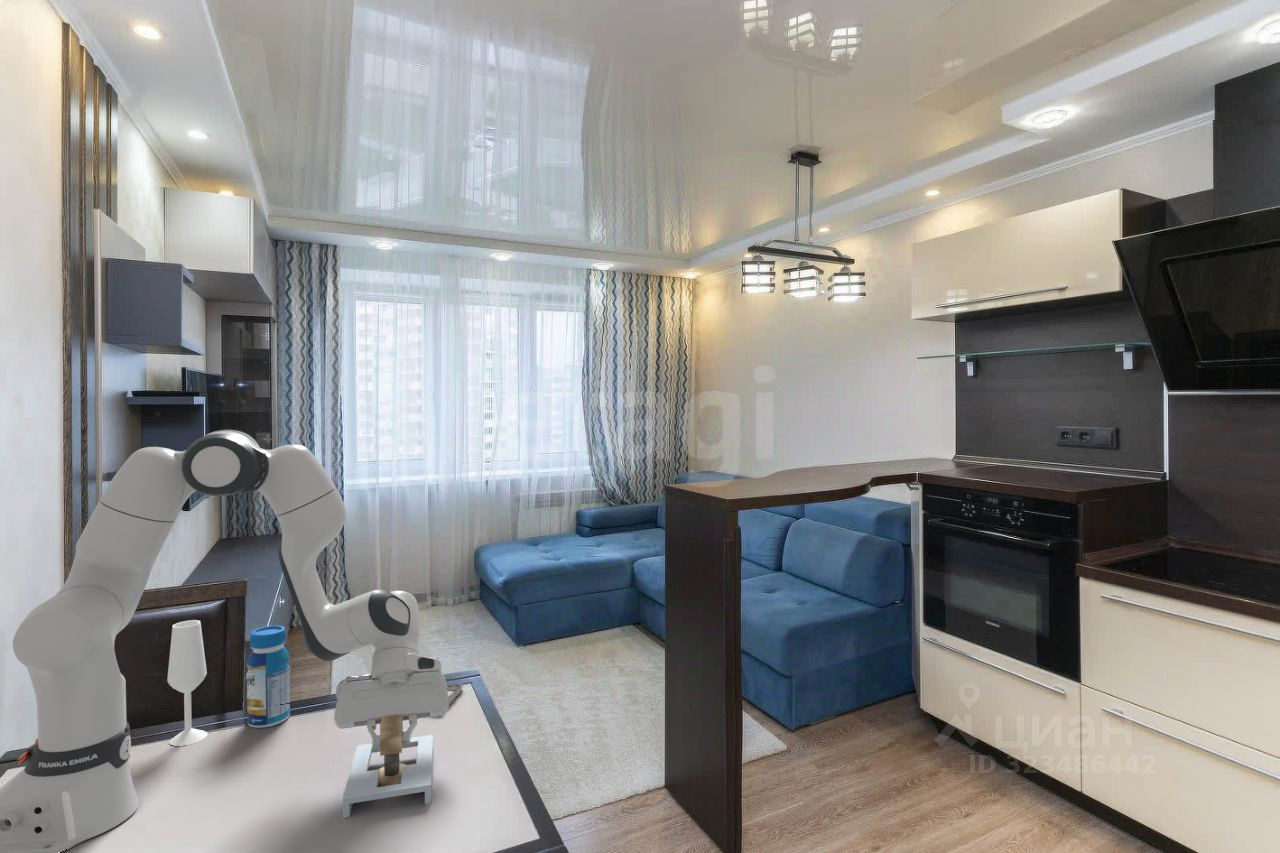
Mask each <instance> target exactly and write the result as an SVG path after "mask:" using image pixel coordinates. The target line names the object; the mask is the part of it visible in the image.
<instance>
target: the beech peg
mask: <svg viewBox="0 0 1280 853" xmlns="http://www.w3.org/2000/svg"><path fill="white" fill-rule="evenodd" d="M403 722H404V721H403V714H402V715H395V716H387V717H382V719H381V724H379V735H380V752H379V753H380V754H379V755H380V757H382V756H384V758H383V766H382V767H381V768H379V769H380V776H379V781H378V786H377V787H383V786H389V785H396V784H401V779H402V771H403V766H405V765H406V764H405V763H400V754H401V753H402V752H403V748H402V745H403V744H402V732H404V731H403V730H404V725H403V724H404V723H403Z"/></svg>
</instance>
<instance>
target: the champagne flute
mask: <svg viewBox="0 0 1280 853" xmlns="http://www.w3.org/2000/svg"><path fill="white" fill-rule="evenodd" d="M201 623H202V622H201V620H198V619H191V620H189V619H188V620H185V621H179V622H177V623H175V624H172V628H171V636H170V637H171V639H170V640H171V641H170V648H169V660H168V670H167V683H168V685H169V686H170V687H171V688H172V689H173V690H176V691H178V692H179V693H182V694H183V696H184V697H183V704H184V705H183V708H184V712H183V714H184V715H183V716H184V729H183V730H182V731H181V732H179V733H177V735H175V736H173V737H174V738H173V737H172V738H171V739H170V740H171V741H170V740H169V741H170V744H171V745H174V746H180V747H184V746H183V745H186V746H190V745H192V744H196V743H199V742H201V741H202V740H204V739H205V738H206V737H207V736H208V732H207V731H206V730H201V729H197V728H193V727H192V692H193V691H194V690H196V688H197V687H199V685H201V683H202V682H203V681H205V678H206V676H207V675H208V672H207V662H206V656H205V647H204V638H203V632H202V624H201ZM205 731H206V732H205ZM174 746H173V747H174Z"/></svg>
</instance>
